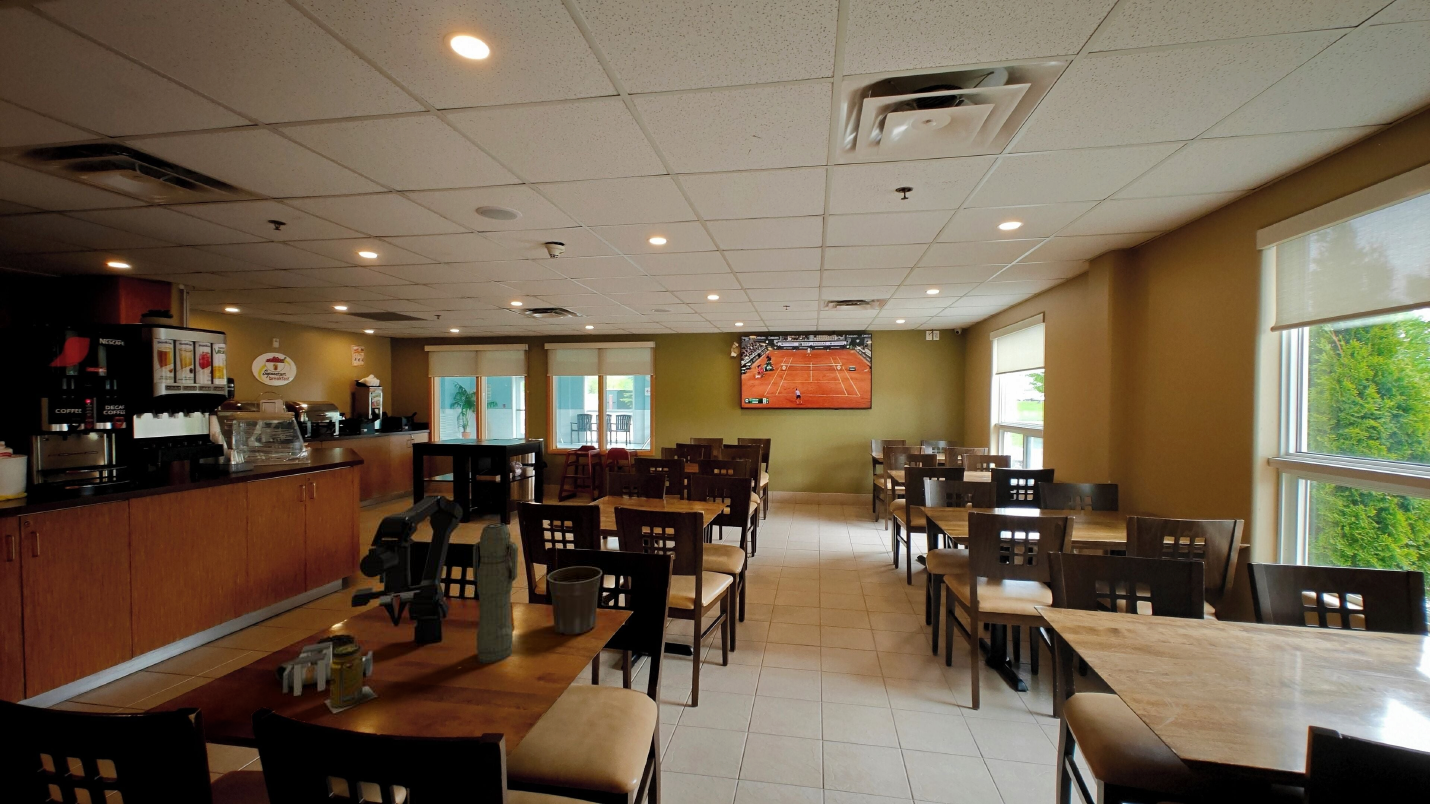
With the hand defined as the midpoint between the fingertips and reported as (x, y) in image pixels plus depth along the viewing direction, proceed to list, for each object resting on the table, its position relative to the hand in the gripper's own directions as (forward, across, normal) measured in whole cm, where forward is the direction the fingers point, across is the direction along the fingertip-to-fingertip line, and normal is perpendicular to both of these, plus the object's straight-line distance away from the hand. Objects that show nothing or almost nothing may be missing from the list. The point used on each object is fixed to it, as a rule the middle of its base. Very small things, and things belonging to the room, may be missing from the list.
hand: (396, 626), depth 132 cm
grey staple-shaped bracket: (+11, +17, 0) cm, 20 cm away
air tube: (+11, +14, 0) cm, 18 cm away
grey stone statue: (+11, -23, +5) cm, 26 cm away
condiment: (+11, +8, +12) cm, 18 cm away
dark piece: (+11, +18, -11) cm, 24 cm away
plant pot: (+11, -46, -3) cm, 47 cm away
